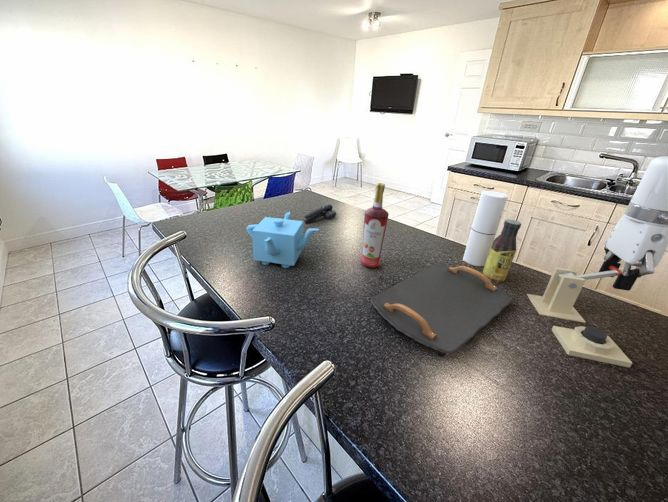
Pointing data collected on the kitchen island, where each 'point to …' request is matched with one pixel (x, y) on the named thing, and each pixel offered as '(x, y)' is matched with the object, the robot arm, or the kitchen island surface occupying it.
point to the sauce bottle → (502, 252)
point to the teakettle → (278, 240)
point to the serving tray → (442, 306)
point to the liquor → (374, 230)
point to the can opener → (320, 213)
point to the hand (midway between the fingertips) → (613, 281)
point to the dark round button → (594, 335)
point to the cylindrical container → (484, 227)
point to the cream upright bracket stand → (560, 296)
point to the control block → (590, 347)
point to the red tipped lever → (595, 274)
